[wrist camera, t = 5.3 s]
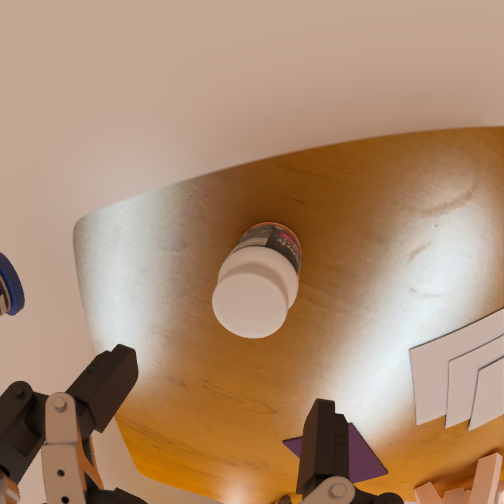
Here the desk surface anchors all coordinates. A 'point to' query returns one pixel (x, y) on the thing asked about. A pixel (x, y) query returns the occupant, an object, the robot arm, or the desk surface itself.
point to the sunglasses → (285, 500)
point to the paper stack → (461, 374)
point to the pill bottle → (258, 281)
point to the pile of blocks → (483, 491)
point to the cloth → (351, 456)
